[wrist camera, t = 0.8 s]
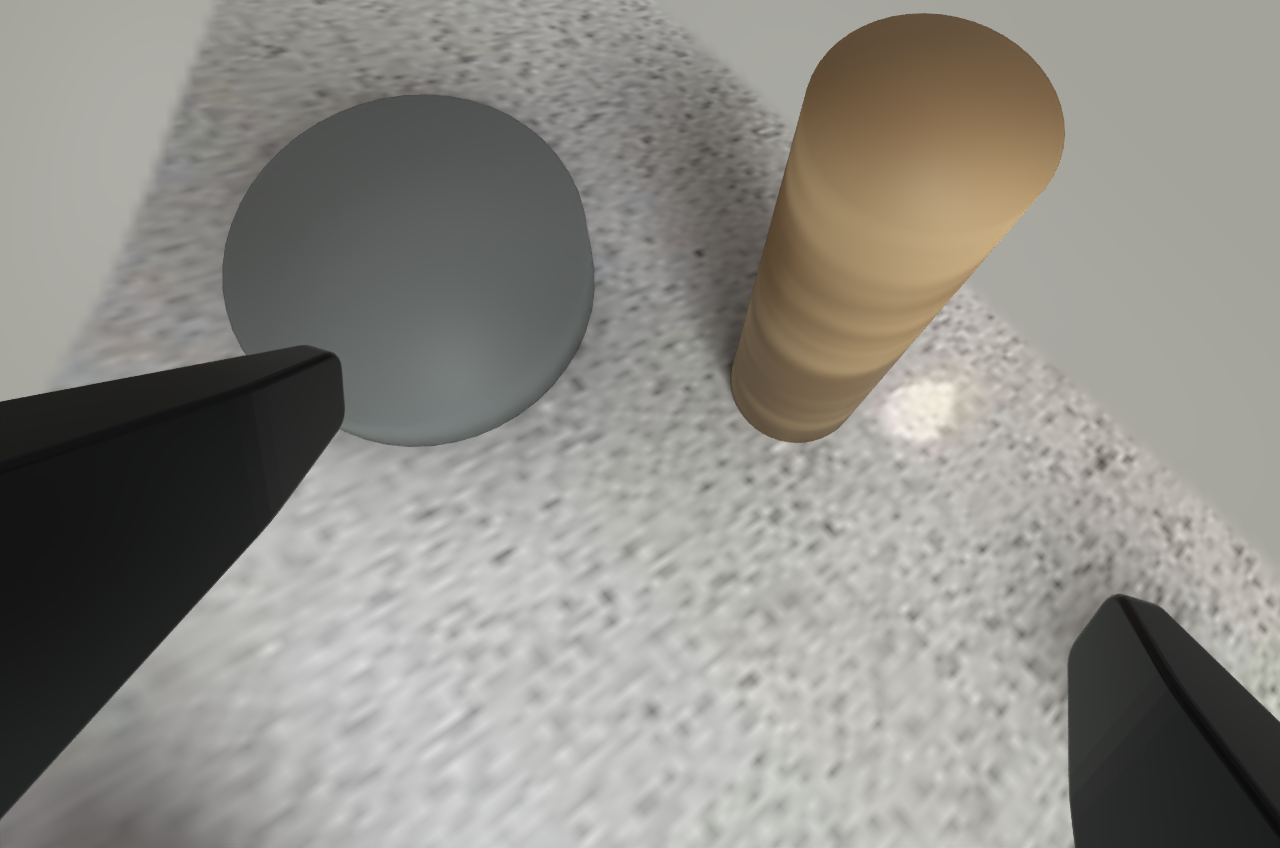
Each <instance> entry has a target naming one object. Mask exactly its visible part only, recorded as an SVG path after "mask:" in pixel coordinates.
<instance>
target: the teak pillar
mask: <svg viewBox="0 0 1280 848" xmlns="http://www.w3.org/2000/svg"><path fill="white" fill-rule="evenodd" d="M1064 138H1065V129H1064V118H1063V113H1062V108H1061V105H1060V102H1059V99H1058V97H1057V94H1056V91H1055V89H1054V88H1053V86H1052V84H1051V82H1050V80H1049V78H1048V77H1047V76H1046V74H1045V73H1044V71H1043V70H1042V69H1041V67H1040V66H1039V65H1038V64H1037V63H1036V62H1035V61H1034V59H1033V58H1032V57H1031V56H1030V55H1029V54H1028V53H1026V52H1025V51H1024V50H1023V49H1022V48H1021V47H1019V46H1018V45H1017V44H1016V43H1014V42H1012V41H1011V40H1010V39H1008V38H1007V37H1005V36H1004V35H1002V34H1000V33H998V32H996V31H994V30H992V29H990V28H988V27H986V26H983V25H981V24H978V23H976V22H973V21H969V20H966V19H962V18H958V17H953V16H947V15H941V14H925V13H923V14H906V15H899V16H892V17H889V18H885V19H881V20H878V21H875V22H873V23H870V24H867V25H865V26H863V27H861V28H859V29H857V30H855V31H853V32H852V33H850V34H848V35H847V36H846V37H844V38H843V39H842V40H840V41H839V42H838V43H836V44H835V45H834V46H833V47H832V48H831V49H830V50H829V51H828V52H827V54H826V55H825V56H824V57H823V59H822V60H821V61H820V62H819V64H818V66H817V67H816V69H815V71H814V73H813V74H812V76H811V79H810V82H809V84H808V87H807V90H806V94H805V97H804V101H803V105H802V109H801V112H800V116H799V120H798V124H797V127H796V131H795V135H794V139H793V142H792V146H791V150H790V154H789V157H788V161H787V165H786V168H785V172H784V176H783V180H782V183H781V187H780V191H779V195H778V198H777V202H776V206H775V210H774V213H773V217H772V221H771V225H770V228H769V232H768V236H767V239H766V243H765V247H764V251H763V254H762V258H761V262H760V266H759V269H758V273H757V277H756V281H755V284H754V288H753V292H752V296H751V299H750V303H749V307H748V310H747V314H746V318H745V322H744V325H743V329H742V333H741V337H740V340H739V344H738V348H737V352H736V355H735V359H734V363H733V367H732V372H731V388H732V393H733V397H734V400H735V403H736V405H737V407H738V409H739V410H740V412H741V413H742V415H743V416H744V418H745V419H746V420H747V421H748V422H749V423H750V424H751V425H752V426H753V427H755V428H756V429H757V430H759V431H760V432H762V433H763V434H765V435H767V436H769V437H771V438H774V439H777V440H781V441H785V442H794V443H801V442H810V441H814V440H818V439H821V438H823V437H825V436H827V435H829V434H831V433H832V432H834V431H835V430H837V429H838V428H839V427H840V426H841V425H842V424H843V423H844V422H845V421H846V420H847V419H848V417H849V416H850V415H851V414H852V413H853V412H854V410H855V409H856V408H857V407H858V406H859V405H860V403H861V402H862V401H863V400H864V399H865V398H866V396H867V395H868V394H869V393H870V392H871V391H872V389H873V388H874V387H875V386H876V385H877V384H878V382H879V381H880V380H881V379H882V378H883V377H884V376H885V374H886V373H887V372H888V371H889V370H890V369H891V367H892V366H893V365H894V364H895V363H896V362H897V360H898V359H899V358H900V357H901V356H902V355H903V353H904V352H905V351H906V350H907V349H908V348H909V346H910V345H911V344H912V343H913V342H914V341H915V339H916V338H917V337H918V336H919V335H920V334H921V333H922V331H923V330H924V329H925V328H926V327H927V326H928V324H929V323H930V322H931V321H932V320H933V319H934V317H935V316H936V315H937V314H938V313H939V312H940V310H941V309H942V308H943V307H944V306H945V305H946V303H947V302H948V301H949V300H950V299H951V298H952V296H953V295H954V294H955V293H956V292H957V291H958V289H959V288H960V287H961V286H962V285H963V284H964V283H965V281H966V280H967V279H968V278H969V277H970V276H971V274H972V273H973V272H974V271H975V269H976V268H977V267H978V266H979V265H980V264H981V263H982V262H983V260H984V259H985V258H986V257H987V256H988V255H989V253H990V252H991V251H992V250H993V249H994V248H995V246H996V245H997V244H998V243H999V242H1000V240H1001V239H1002V238H1003V237H1004V236H1005V235H1006V234H1007V232H1008V231H1009V230H1010V229H1011V228H1012V227H1013V226H1014V224H1015V223H1016V222H1017V221H1018V220H1019V218H1020V217H1021V216H1022V215H1023V214H1024V213H1025V212H1026V210H1027V209H1028V208H1029V207H1030V206H1031V205H1032V203H1033V202H1034V201H1035V200H1036V199H1037V198H1038V196H1039V195H1040V194H1041V193H1042V192H1043V191H1044V190H1045V188H1046V187H1047V185H1048V184H1049V182H1050V181H1051V179H1052V178H1053V176H1054V174H1055V172H1056V170H1057V167H1058V165H1059V163H1060V160H1061V156H1062V152H1063V148H1064Z"/></svg>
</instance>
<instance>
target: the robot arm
mask: <svg viewBox="0 0 1280 848" xmlns="http://www.w3.org/2000/svg"><path fill="white" fill-rule="evenodd" d="M344 416H345V399H344V387H343V374H342V365H341V361H340V359H339V357H338V356H337V355H336V354H335V353H333V352H330V351H327V350H324V349H320V348H317V347H314V346H310V345H298V346H293V347H287V348H282V349H277V350H271V351H266V352H261V353H256V354H250V355H245V356H240V357H234V358H229V359H224V360H219V361H213V362H208V363H203V364H197V365H192V366H187V367H181V368H176V369H171V370H166V371H160V372H155V373H150V374H144V375H139V376H134V377H128V378H123V379H118V380H113V381H107V382H102V383H97V384H91V385H86V386H81V387H75V388H70V389H65V390H60V391H54V392H49V393H44V394H38V395H33V396H28V397H23V398H18V399H12V400H7V401H2V402H0V820H1V819H2V817H3V816H4V815H5V814H6V813H7V812H8V811H9V810H10V809H11V808H12V806H13V805H14V804H15V803H16V802H17V801H18V800H19V799H20V798H21V797H22V795H23V794H24V793H25V792H26V791H27V790H28V789H29V788H30V787H31V786H32V784H33V783H34V782H35V781H36V780H37V779H38V778H39V777H40V776H41V775H42V773H43V772H44V771H45V770H46V769H47V768H48V767H49V766H50V765H51V764H52V762H53V761H54V760H55V759H56V758H57V757H58V756H59V755H60V754H61V753H62V751H63V750H64V749H65V748H66V747H67V746H68V745H69V744H70V743H71V742H72V740H73V739H74V738H75V737H76V736H77V735H78V734H79V733H80V732H81V731H82V729H83V728H84V727H85V726H86V725H87V724H88V723H89V722H90V721H91V720H92V719H93V717H94V716H95V715H96V714H97V713H98V712H99V711H100V710H101V709H102V708H103V706H104V705H105V704H106V703H107V702H108V701H109V700H110V699H111V698H112V697H113V695H114V694H115V693H116V692H117V691H118V690H119V689H120V688H121V687H122V686H123V684H124V683H125V682H126V681H127V680H128V679H129V678H130V677H131V676H132V675H133V673H134V672H135V671H136V670H137V669H138V668H139V667H140V666H141V665H142V664H143V662H144V661H145V660H146V659H147V658H148V657H149V656H150V655H151V654H152V653H153V651H154V650H155V649H156V648H157V647H158V646H159V645H160V644H161V643H162V642H163V640H164V639H165V638H166V637H167V636H168V635H169V634H170V633H171V632H172V631H173V629H174V628H175V627H176V626H177V625H178V624H179V623H180V622H181V621H182V620H183V618H184V617H185V616H186V615H187V614H188V613H189V612H190V611H191V610H192V609H193V607H194V606H195V605H196V604H197V603H198V602H199V601H200V600H201V599H202V598H203V596H204V595H205V594H206V593H207V592H208V591H209V590H210V589H211V588H212V587H213V585H214V584H215V583H216V582H217V581H218V580H219V579H220V578H221V577H222V576H223V574H224V573H225V572H226V571H227V570H228V569H229V568H230V567H231V566H232V565H233V563H234V562H235V561H236V560H237V559H238V558H239V557H240V556H241V555H242V554H243V553H244V551H245V550H246V549H247V548H248V547H249V546H250V545H251V544H252V543H253V542H254V540H255V539H256V538H257V537H258V536H259V535H260V534H261V533H262V531H263V530H264V529H265V528H266V527H267V526H268V524H269V523H270V522H271V521H272V520H273V518H274V517H275V516H276V515H277V513H278V512H279V511H280V509H281V508H282V507H283V506H284V504H285V503H286V502H287V500H288V499H289V498H290V496H291V495H292V493H293V492H294V491H295V489H296V488H297V487H298V485H299V484H300V482H301V481H302V480H303V478H304V477H305V476H306V474H307V473H308V472H309V470H310V469H311V467H312V466H313V465H314V463H315V462H316V461H317V459H318V458H319V456H320V455H321V454H322V452H323V451H324V450H325V448H326V447H327V446H328V444H329V443H330V441H331V440H332V439H333V437H334V436H335V435H336V433H337V432H338V430H339V429H340V427H341V425H342V423H343V420H344ZM1068 771H1069V799H1070V809H1071V819H1072V828H1073V835H1074V843H1075V848H1280V722H1279V721H1278V720H1277V719H1276V718H1275V717H1274V716H1273V715H1272V714H1271V713H1270V712H1269V711H1268V710H1267V709H1266V708H1265V707H1264V706H1263V705H1262V704H1261V703H1260V702H1259V701H1258V700H1257V699H1256V698H1254V697H1253V696H1252V695H1251V694H1250V693H1249V692H1248V691H1247V690H1246V689H1245V688H1244V687H1243V686H1242V685H1241V684H1240V683H1239V682H1238V681H1237V680H1236V679H1235V678H1234V677H1233V676H1232V675H1231V674H1230V673H1229V672H1228V671H1227V670H1226V669H1225V668H1223V667H1222V666H1221V665H1220V664H1219V663H1218V662H1217V661H1216V660H1215V659H1214V658H1213V657H1212V656H1211V655H1210V654H1209V653H1208V652H1207V651H1206V650H1205V649H1204V648H1203V647H1202V646H1201V645H1200V644H1199V643H1198V642H1197V641H1196V640H1195V639H1194V638H1193V637H1191V636H1190V635H1189V634H1188V633H1187V632H1186V631H1185V630H1184V629H1183V628H1182V627H1181V626H1180V625H1179V624H1178V623H1177V622H1176V621H1175V620H1174V619H1173V618H1172V617H1171V616H1170V615H1169V614H1168V613H1167V612H1166V611H1165V610H1164V609H1162V608H1161V607H1160V606H1158V605H1156V604H1153V603H1150V602H1147V601H1143V600H1140V599H1137V598H1134V597H1130V596H1127V595H1124V594H1115V595H1112V596H1110V597H1109V598H1107V599H1106V600H1105V602H1104V603H1103V604H1102V605H1101V607H1100V608H1099V609H1098V611H1097V612H1096V613H1095V615H1094V616H1093V617H1092V619H1091V620H1090V622H1089V623H1088V624H1087V626H1086V627H1085V628H1084V630H1083V631H1082V633H1081V634H1080V635H1079V637H1078V638H1077V639H1076V641H1075V642H1074V644H1073V646H1072V648H1071V651H1070V654H1069V658H1068Z"/></svg>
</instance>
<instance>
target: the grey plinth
mask: <svg viewBox="0 0 1280 848" xmlns="http://www.w3.org/2000/svg"><path fill="white" fill-rule="evenodd" d="M223 293H224V300H225V306H226V311H227V314H228V317H229V320H230V323H231V327H232V330H233V332H234V334H235V336H236V338H237V340H238V342H239V344H240V346H241V348H242V350H243V351H244V353H245V354H246V355H250V354H256V353H261V352H266V351H271V350H277V349H282V348H287V347H293V346H298V345H310V346H314V347H317V348H320V349H324V350H327V351H330V352H333V353H335V354H336V355H337V356H338V357H339V359H340V361H341V365H342V374H343V387H344V399H345V416H344V420H343V423H342V425H341V427H340V429H341V430H343V431H345V432H347V433H350V434H352V435H355V436H358V437H360V438H363V439H365V440H370V441H374V442H378V443H383V444H387V445H397V446H408V447H415V446H435V445H441V444H447V443H454V442H458V441H461V440H465V439H468V438H471V437H475V436H478V435H480V434H483V433H485V432H487V431H490V430H492V429H494V428H497V427H499V426H501V425H502V424H504V423H506V422H508V421H509V420H511V419H513V418H514V417H516V416H518V415H519V414H521V413H522V412H523V411H525V410H526V409H527V408H529V407H530V406H531V405H532V404H534V403H535V402H536V401H538V400H539V399H540V398H541V397H542V396H543V395H544V394H545V393H546V392H547V391H548V390H549V389H550V388H551V387H552V386H553V385H554V384H555V382H556V381H557V380H558V378H559V377H560V376H561V375H562V373H563V372H564V371H565V370H566V368H567V367H568V365H569V363H570V362H571V360H572V358H573V357H574V355H575V353H576V352H577V350H578V348H579V346H580V343H581V341H582V339H583V336H584V334H585V332H586V329H587V326H588V322H589V318H590V315H591V311H592V305H593V297H594V266H593V260H592V253H591V247H590V242H589V236H588V231H587V225H586V220H585V214H584V209H583V206H582V203H581V200H580V197H579V193H578V190H577V188H576V186H575V184H574V182H573V180H572V178H571V176H570V174H569V172H568V170H567V169H566V167H565V166H564V164H563V163H562V162H561V160H560V159H559V157H558V156H557V154H556V153H555V152H554V151H553V150H552V149H551V148H550V147H549V146H548V145H547V143H546V142H545V141H544V140H543V139H542V138H540V137H539V136H538V135H537V134H536V133H534V132H533V131H532V130H531V129H530V128H528V127H527V126H526V125H524V124H522V123H521V122H519V121H517V120H516V119H514V118H513V117H511V116H509V115H507V114H505V113H503V112H501V111H499V110H496V109H494V108H492V107H490V106H487V105H483V104H480V103H477V102H474V101H471V100H466V99H461V98H455V97H450V96H439V95H404V96H397V97H391V98H384V99H379V100H375V101H372V102H368V103H364V104H360V105H357V106H355V107H352V108H350V109H347V110H344V111H342V112H339V113H337V114H335V115H333V116H331V117H329V118H327V119H325V120H323V121H321V122H319V123H317V124H316V125H314V126H313V127H311V128H310V129H308V130H307V131H305V132H304V133H302V134H301V135H299V136H298V137H296V138H295V139H294V140H293V141H292V142H290V143H289V144H288V145H287V146H286V147H284V148H283V149H282V150H281V151H280V152H279V153H278V154H277V155H276V156H275V157H274V158H273V159H272V160H271V161H270V162H269V163H268V164H267V165H266V166H265V167H264V169H263V170H262V171H261V173H260V174H259V175H258V177H257V178H256V179H255V181H254V182H253V183H252V184H251V186H250V188H249V190H248V191H247V193H246V195H245V196H244V198H243V200H242V201H241V203H240V205H239V208H238V210H237V212H236V215H235V217H234V219H233V222H232V224H231V227H230V231H229V234H228V238H227V242H226V245H225V252H224V260H223Z"/></svg>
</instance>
